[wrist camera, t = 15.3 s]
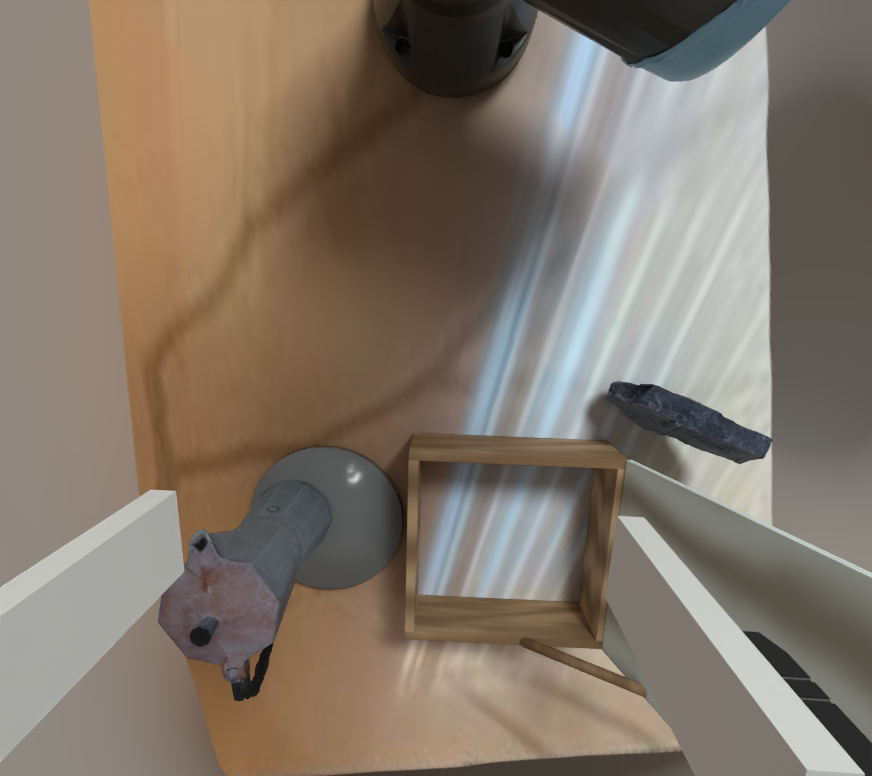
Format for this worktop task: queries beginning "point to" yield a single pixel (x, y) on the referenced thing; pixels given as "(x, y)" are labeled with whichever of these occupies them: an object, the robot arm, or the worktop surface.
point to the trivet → (344, 514)
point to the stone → (688, 421)
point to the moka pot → (244, 582)
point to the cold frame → (694, 545)
